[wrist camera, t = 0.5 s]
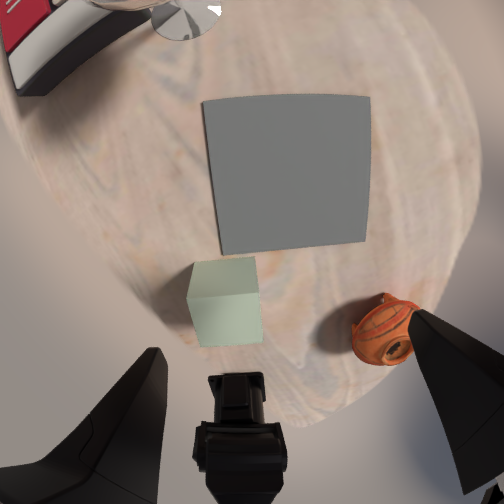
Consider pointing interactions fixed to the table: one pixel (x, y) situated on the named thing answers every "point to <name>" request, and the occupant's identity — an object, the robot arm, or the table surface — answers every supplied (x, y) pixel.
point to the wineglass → (171, 15)
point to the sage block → (225, 302)
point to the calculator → (57, 38)
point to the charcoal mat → (289, 170)
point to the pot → (384, 333)
